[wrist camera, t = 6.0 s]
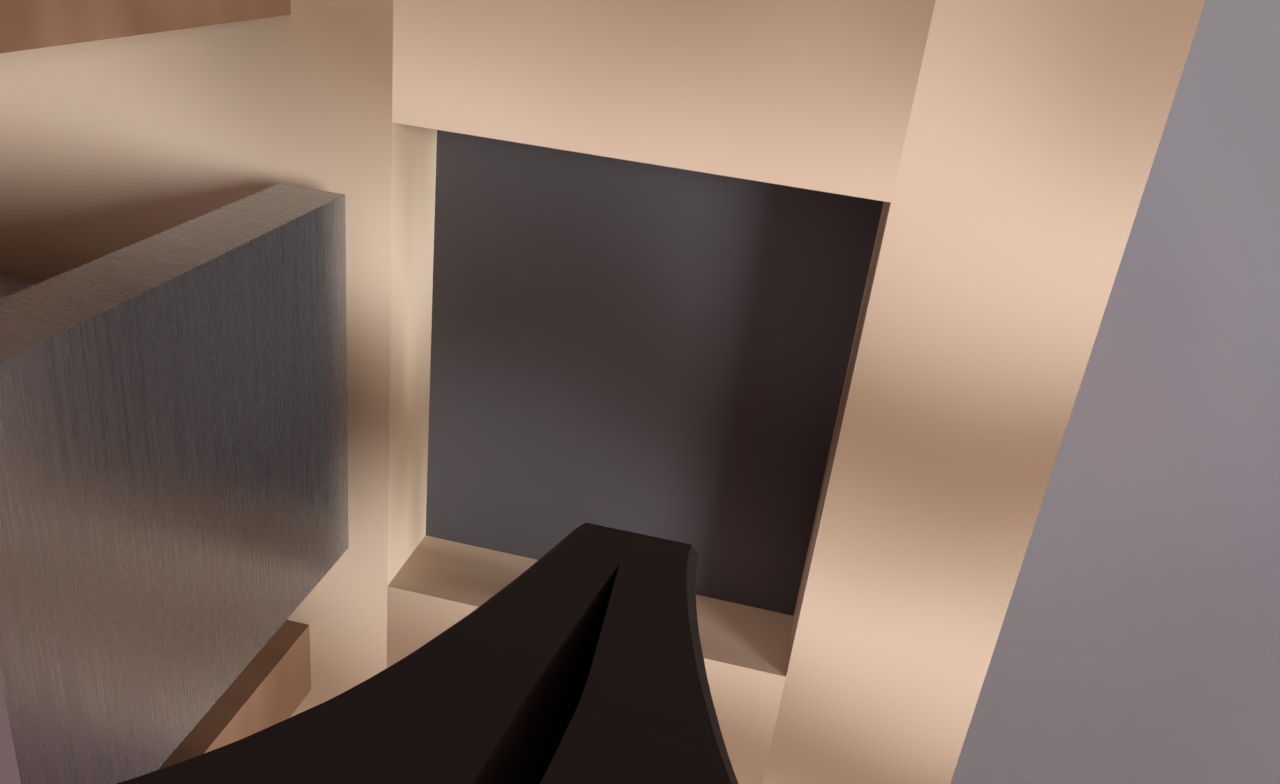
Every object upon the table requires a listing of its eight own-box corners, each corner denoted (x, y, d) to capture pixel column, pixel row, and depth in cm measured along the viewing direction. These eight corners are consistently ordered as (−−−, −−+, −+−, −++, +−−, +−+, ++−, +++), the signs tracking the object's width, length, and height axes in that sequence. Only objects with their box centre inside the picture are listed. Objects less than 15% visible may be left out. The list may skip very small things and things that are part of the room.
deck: (900, 842, 20) (902, 929, 19) (-257, 557, 24) (-347, 607, 22) (1217, -190, 13) (1274, -209, 11) (-545, -371, 17) (-717, -408, 15)
